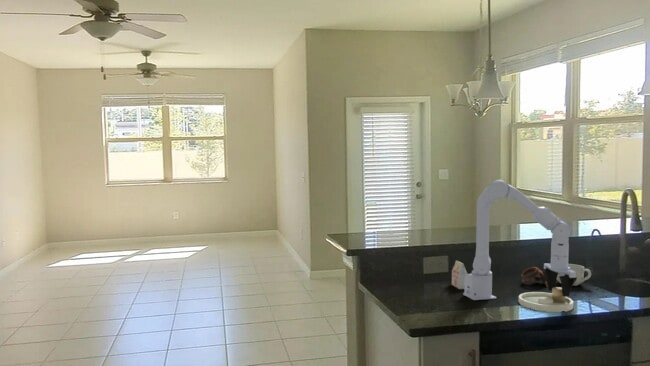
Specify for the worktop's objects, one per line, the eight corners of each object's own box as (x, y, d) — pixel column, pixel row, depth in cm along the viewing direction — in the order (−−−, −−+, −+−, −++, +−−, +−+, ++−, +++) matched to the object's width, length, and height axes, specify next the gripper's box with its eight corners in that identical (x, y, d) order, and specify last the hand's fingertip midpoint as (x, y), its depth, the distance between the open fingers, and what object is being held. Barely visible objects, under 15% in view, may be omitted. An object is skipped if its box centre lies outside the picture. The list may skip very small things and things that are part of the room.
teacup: (549, 282, 216) (549, 263, 216) (567, 279, 221) (568, 261, 220) (578, 290, 204) (578, 270, 203) (597, 287, 208) (597, 267, 208)
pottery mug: (549, 290, 206) (538, 272, 206) (526, 297, 212) (516, 279, 211) (551, 276, 216) (542, 259, 216) (530, 283, 222) (520, 266, 221)
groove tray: (539, 313, 175) (539, 307, 175) (509, 299, 192) (509, 293, 192) (584, 309, 179) (584, 304, 179) (550, 296, 196) (551, 290, 196)
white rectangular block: (460, 284, 213) (460, 260, 213) (467, 288, 207) (467, 263, 206) (451, 284, 213) (451, 260, 212) (458, 289, 206) (459, 264, 206)
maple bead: (557, 303, 184) (557, 290, 184) (549, 299, 188) (549, 287, 188) (568, 302, 185) (568, 289, 185) (559, 299, 189) (560, 286, 189)
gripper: (583, 258, 179) (582, 297, 180) (555, 251, 194) (555, 287, 194) (566, 259, 178) (565, 299, 179) (539, 251, 192) (538, 288, 193)
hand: (558, 293), depth 186 cm, fingers open, 7 cm apart
